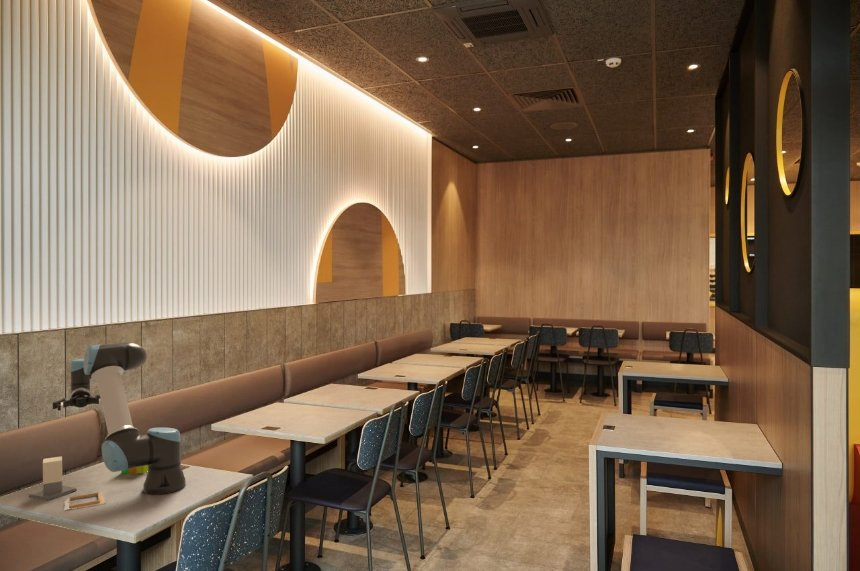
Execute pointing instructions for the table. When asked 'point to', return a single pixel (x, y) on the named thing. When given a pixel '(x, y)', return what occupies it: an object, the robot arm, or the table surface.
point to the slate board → (53, 495)
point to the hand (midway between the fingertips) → (81, 406)
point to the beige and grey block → (52, 475)
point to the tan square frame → (87, 504)
